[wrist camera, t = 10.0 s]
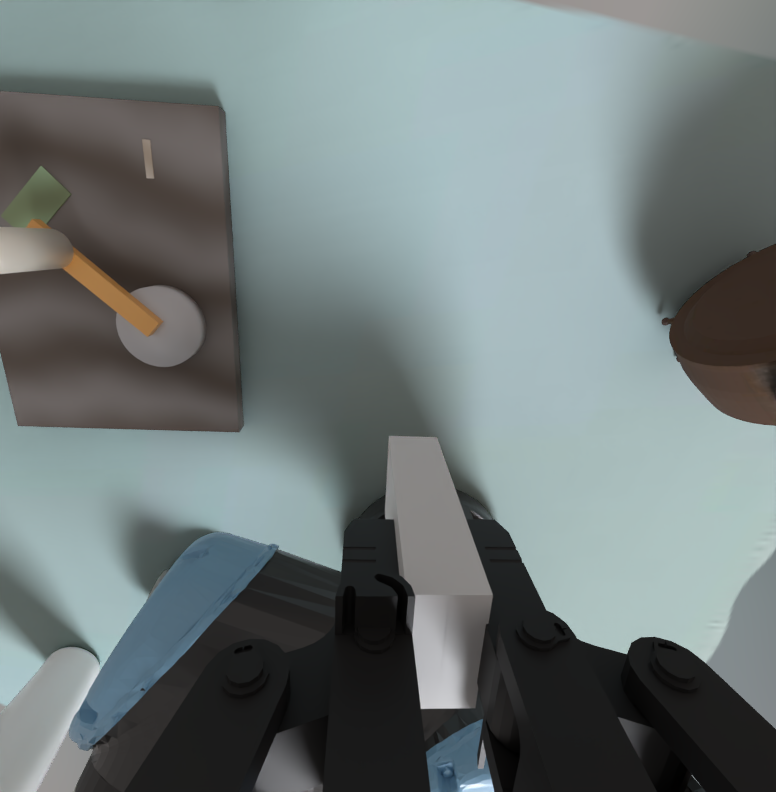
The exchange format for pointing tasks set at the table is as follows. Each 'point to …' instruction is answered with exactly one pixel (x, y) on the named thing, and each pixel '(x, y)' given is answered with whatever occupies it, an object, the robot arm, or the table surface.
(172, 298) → the dial
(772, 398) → the alarm clock
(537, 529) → the table surface
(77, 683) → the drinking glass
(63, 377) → the dial plate
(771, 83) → the table surface
